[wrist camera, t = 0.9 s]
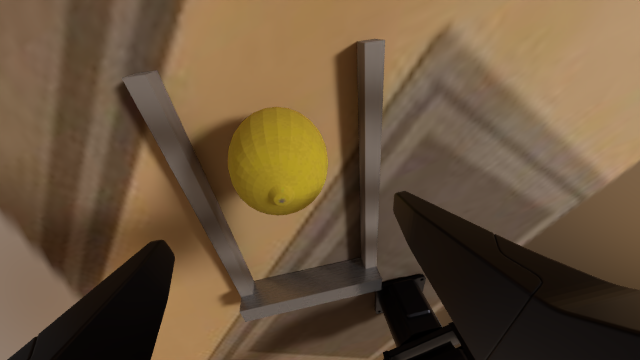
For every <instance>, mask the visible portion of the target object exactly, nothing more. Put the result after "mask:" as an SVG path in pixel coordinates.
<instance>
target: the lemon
mask: <svg viewBox="0 0 640 360" xmlns="http://www.w3.org/2000/svg"><path fill="white" fill-rule="evenodd" d="M327 168H328V158H327V151H326V146H325V143H324V141H323V138H322V136H321V134H320V132H319V131H318V129H317V128H316V127H315V126H314V124H313V123H312V122H311V121H310V120H309V119H307V118H306V117H305V116H303V115H302V114H300V113H299V112H296V111H294V110H291V109H289V108H281V107H272V108H265V109H262V110H260V111H257V112H255V113H253V114H251V115H250V116H249V117H248V118H246V119H245V120H244V121H242V123H241V124H240V126H239V127H238V128H237V130H236V131H235V132H234V134H233V137H232V140H231V143H230V145H229V149H228V170H229V174H230V178H231V181H232V184H233V187H234V188H235V190H236V191H237V193H238V195H239V196H240V198H241V199H242V200H243V201H244V202H246V203H247V204H248V205H249V206H250V207H252V208H254V209H255V210H257V211H260V212H263V213H266V214H271V215H287V214H291V213H295V212H298V211H300V210H302V209H304V208H305V207H307V206H308V205H309V204H310V203H312V202H313V201H314V200H315V198H316V197H317V196H318V194H319V193H320V192H321V190H322V187H323V185H324V183H325V180H326V175H327Z"/></svg>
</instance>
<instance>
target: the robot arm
mask: <svg viewBox="0 0 640 360" xmlns="http://www.w3.org/2000/svg"><path fill="white" fill-rule="evenodd" d="M393 211H394V214H395V217H396V219H397V221H398V223H399V226H400V228H401V230H402V232H403V235H404V237H405V239H406V241H407V243H408V245H409V247H410V249H411V251H412V253H413V254H414V256H415V258H416V259H417V261H418V263H419V265H420V266H421V268H422V270H423V271H424V273H425V275H426V276H427V278H428V280H429V282H430V283H431V285H432V287H433V288H434V290H435V292H436V293H437V295H438V297H439V299H440V300H441V302H442V304H443V305H444V307H445V309H446V310H447V312H448V314H449V315H450V317H451V319H452V321H453V322H454V323H453V322H451V323H449V325H447V326H445V327H442V326H441V324H440V323H439V321H438V319H437V317H436V315H435V314H434V312H433V310H432V308H431V307H430V305H429V303H428V301H427V300H426V298H425V296H424V294H423V293H422V292H423V288H424V283H425V279H426V278H425V276H424V275H423V274H421V275H417V276H412V277H408V278H404V279H399V280H395V281H391V282H387V283H382V285H381V290H378V291H375V312H376V313H377V314H379V313H384V316H385V319H386V321H387V324H388V326H389V329H390V331H391V334H392V336H393V339H394V341H395V344H396V347H397V348H394V349H392V350H390V351H385V352H383V355H384V359H383V360H640V290H637V289H632V288H628V287H624V286H620V285H616V284H613V283H610V282H607V281H605V280H602V279H599V278H597V277H594V276H592V275H589V274H587V273H584V272H582V271H580V270H577V269H575V268H572V267H570V266H567V265H565V264H562V263H560V262H558V261H555V260H553V259H550V258H547V257H545V256H543V255H541V254H538V253H536V252H534V251H531V250H529V249H527V248H524V247H522V246H520V245H518V244H516V243H513V242H511V241H509V240H507V239H505V238H503V237H501V236H499V235H496V234H493V233H492V232H490V231H488V230H486V229H484V228H482V227H480V226H477V225H475V224H473V223H471V222H469V221H467V220H465V219H463V218H461V217H459V216H457V215H455V214H452V213H450V212H448V211H446V210H444V209H442V208H440V207H438V206H436V205H434V204H432V203H429V202H427V201H425V200H423V199H421V198H419V197H417V196H415V195H413V194H411V193H409V192H406V191H402V192H397V193H395V195H394V205H393ZM174 261H175V256H174V253H173V252H172V250H171V249H170V247H169V246H168V245H167V243H166V242H165V241H164V240H156V241H152V242H150V243H148V244H147V245H146V246H145V247H143V248H142V249H141V250H140V251H139V252H137V253H136V254H135V255H134V256H132V257H131V258H130V259H129V260H128V261H126V262H125V263H124V264H123V265H122V266H120V267H119V268H118V269H117V270H116V271H114V272H113V273H112V274H111V275H109V276H108V277H107V278H106V279H105V280H103V281H102V282H101V283H100V284H99V285H97V286H96V287H95V288H94V289H93V290H91V291H90V292H89V293H88V294H87V295H85V296H84V297H83V298H82V299H80V300H79V301H78V302H77V303H76V304H74V305H73V306H72V307H71V308H70V309H68V310H67V311H66V312H65V313H64V314H62V315H61V316H60V317H59V318H57V319H56V320H55V321H54V322H53V323H52V324H50V325H49V326H48V327H47V328H46V329H44V330H43V331H42V332H41V333H39V335H38V336H37V337H34V338H33V339H32V340H31V341H30V342H28V343H27V344H26V345H25V346H24V347H22V348H21V349H20V350H19V351H18V352H16V353H15V354H14V355H13V356H11V357H10V358H9V359H8V360H151V357H152V353H153V350H154V346H155V343H156V339H157V336H158V332H159V329H160V325H161V322H162V318H163V315H164V311H165V308H166V304H167V300H168V296H169V290H170V284H171V279H172V273H173V267H174ZM459 343H460V344H461V346H460V347H458V348H455V347H454V345H456V344H459Z"/></svg>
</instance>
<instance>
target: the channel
mask: <svg viewBox="0 0 640 360" xmlns="http://www.w3.org/2000/svg"><path fill="white" fill-rule="evenodd" d="M384 53H385V40H380V39H372V40H365V41H358V42H357V72H358V122H359V172H360V222H361V258H357V259H352V260H348V261H343V262H339V263H334V264H330V265H325V266H321V267H316V268H312V269H307V270H302V271H298V272H293V273H289V274H284V275H280V276H275V277H271V278H266V279H262V280H257V281H254V280H253V278H252V276H251V274H250V272H249V269H248V267H247V265H246V263H245V261H244V259H243V256H242V254H241V252H240V250H239V248H238V245H237V243H236V241H235V239H234V237H233V235H232V232H231V230H230V228H229V226H228V224H227V222H226V219H225V217H224V215H223V213H222V211H221V208H220V206H219V204H218V202H217V200H216V198H215V195H214V193H213V191H212V189H211V187H210V185H209V182H208V180H207V178H206V176H205V174H204V172H203V169H202V167H201V165H200V163H199V161H198V158H197V156H196V154H195V152H194V150H193V148H192V145H191V143H190V141H189V139H188V137H187V135H186V132H185V130H184V128H183V126H182V124H181V121H180V119H179V117H178V115H177V113H176V111H175V108H174V106H173V104H172V102H171V100H170V98H169V95H168V93H167V91H166V89H165V87H164V84H163V82H162V80H161V78H160V76H159V74H158V71H157V70H156V71H149V72H142V73H135V74H132V75H129V76H126V77H123V78H122V80H123V81H124V83H125V85H126V87H127V89H128V91H129V92H130V94H131V96H132V98H133V100H134V102H135V103H136V105H137V107H138V109H139V111H140V113H141V114H142V116H143V118H144V120H145V122H146V124H147V125H148V127H149V129H150V131H151V133H152V134H153V136H154V138H155V140H156V142H157V144H158V145H159V147H160V149H161V151H162V153H163V155H164V156H165V158H166V160H167V162H168V164H169V166H170V167H171V169H172V171H173V173H174V175H175V177H176V178H177V180H178V182H179V184H180V186H181V188H182V189H183V191H184V193H185V195H186V197H187V199H188V200H189V202H190V204H191V206H192V208H193V210H194V211H195V213H196V215H197V217H198V219H199V221H200V222H201V224H202V226H203V228H204V230H205V232H206V233H207V235H208V237H209V239H210V241H211V242H212V244H213V246H214V248H215V250H216V252H217V253H218V255H219V257H220V259H221V261H222V263H223V264H224V266H225V268H226V270H227V272H228V274H229V275H230V277H231V279H232V281H233V283H234V285H235V286H236V288H237V290H238V292H239V294H240V296H241V304H240V313H241V315H242V317H243V318H244V320H245V322H247V321H251V320H255V319H259V318H264V317H268V316H272V315H276V314H281V313H285V312H289V311H293V310H298V309H302V308H306V307H310V306H315V305H319V304H323V303H327V302H331V301H336V300H340V299H344V298H348V297H353V296H357V295H361V294H365V293H370V292H374V291H378V290H381V285H382V278H381V276H380V273H379V271H378V269H377V267H376V265H377V238H378V212H379V186H380V159H381V133H382V106H383V80H384Z"/></svg>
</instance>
